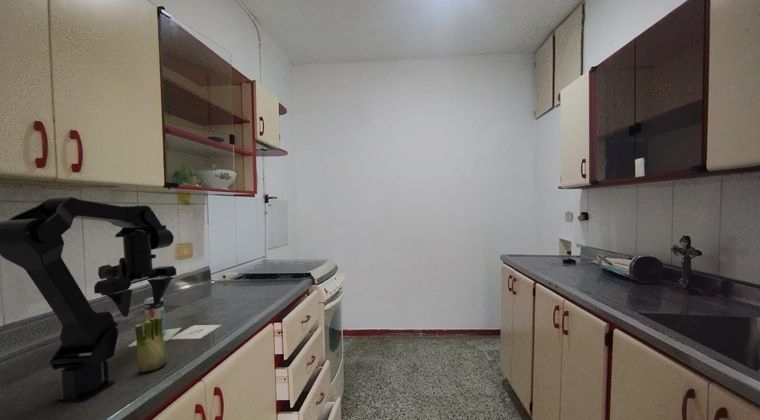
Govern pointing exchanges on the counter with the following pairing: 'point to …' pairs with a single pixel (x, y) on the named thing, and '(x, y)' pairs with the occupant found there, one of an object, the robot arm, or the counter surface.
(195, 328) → the card
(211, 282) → the counter surface
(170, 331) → the sage mat
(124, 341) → the counter surface
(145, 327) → the fennel bulb
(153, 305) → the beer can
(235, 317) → the counter surface
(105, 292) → the robot arm
